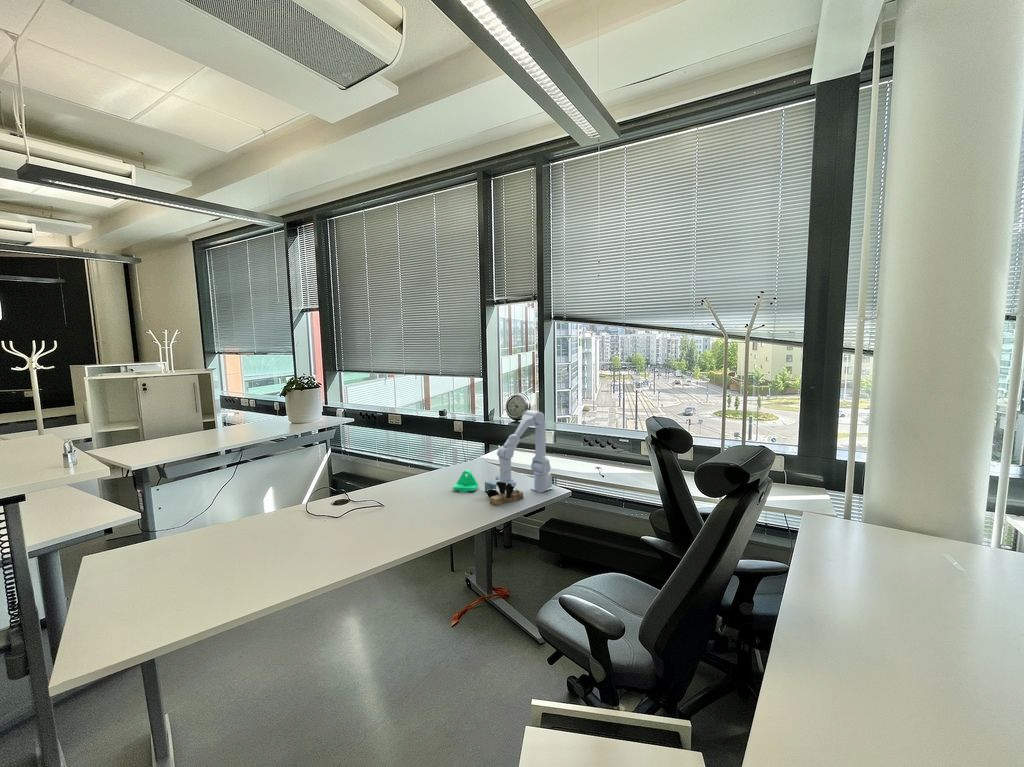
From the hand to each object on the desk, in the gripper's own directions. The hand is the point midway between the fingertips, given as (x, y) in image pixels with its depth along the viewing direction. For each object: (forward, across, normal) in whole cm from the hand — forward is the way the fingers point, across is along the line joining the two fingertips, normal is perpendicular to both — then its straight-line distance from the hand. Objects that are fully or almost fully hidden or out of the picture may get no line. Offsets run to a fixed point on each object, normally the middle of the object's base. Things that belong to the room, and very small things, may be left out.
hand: (505, 496), depth 226 cm
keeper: (+2, -15, +3) cm, 15 cm away
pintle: (+2, 0, +6) cm, 6 cm away
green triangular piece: (+2, -27, -7) cm, 28 cm away
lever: (+2, 0, 0) cm, 2 cm away
